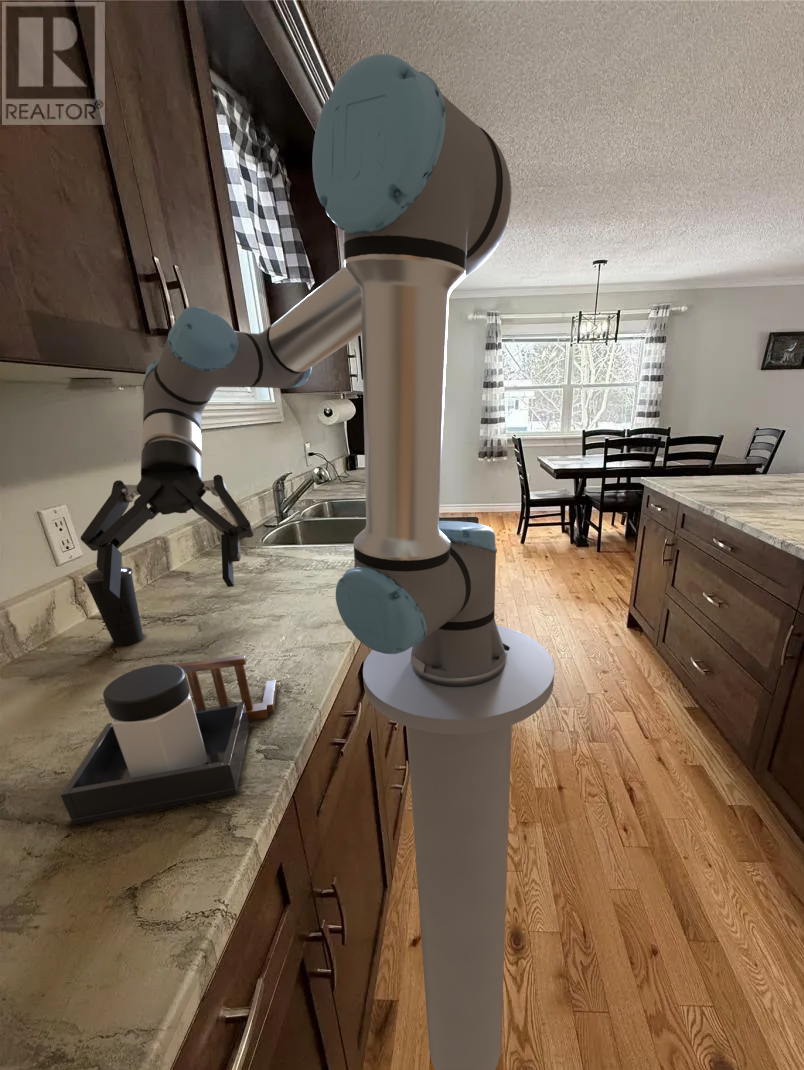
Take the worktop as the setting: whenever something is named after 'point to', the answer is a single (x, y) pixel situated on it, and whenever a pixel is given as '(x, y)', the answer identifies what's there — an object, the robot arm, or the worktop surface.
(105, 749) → the rectangular tray
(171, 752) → the jar
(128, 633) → the drinking cup
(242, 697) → the drying rack
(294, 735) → the worktop surface
